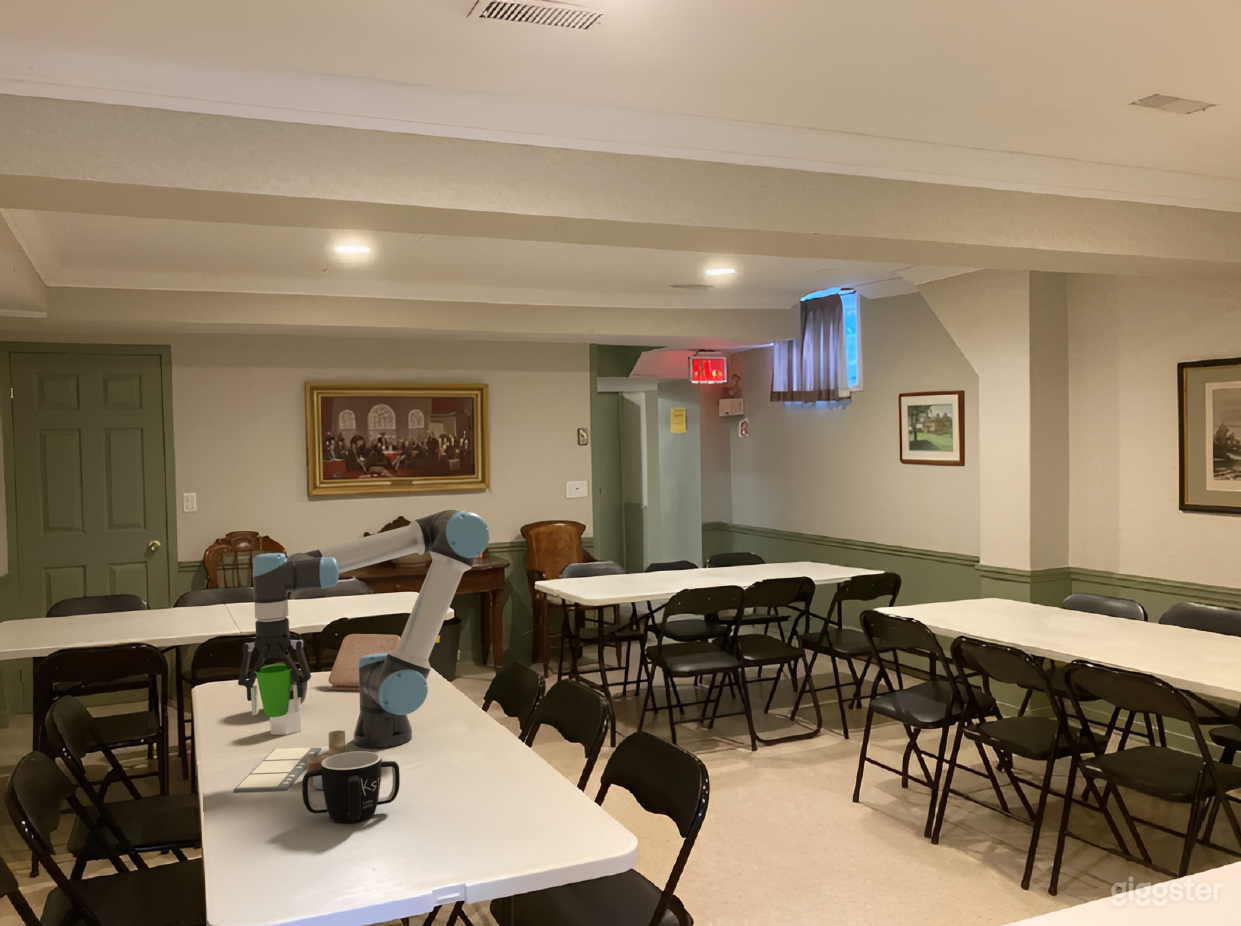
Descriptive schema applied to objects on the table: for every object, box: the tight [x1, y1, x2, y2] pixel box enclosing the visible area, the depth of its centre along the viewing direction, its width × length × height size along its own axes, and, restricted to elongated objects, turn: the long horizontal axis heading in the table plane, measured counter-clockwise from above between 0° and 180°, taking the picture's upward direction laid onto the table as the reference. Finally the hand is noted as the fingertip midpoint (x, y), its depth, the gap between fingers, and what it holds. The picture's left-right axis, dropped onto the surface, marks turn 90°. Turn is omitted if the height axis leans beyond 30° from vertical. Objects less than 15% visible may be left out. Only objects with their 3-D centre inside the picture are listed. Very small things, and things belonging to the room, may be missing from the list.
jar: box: [269, 685, 302, 736], centre depth 267 cm, size 9×8×12 cm
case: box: [328, 633, 401, 692], centre depth 322 cm, size 20×21×16 cm
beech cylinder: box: [328, 730, 346, 755], centre depth 243 cm, size 4×4×6 cm
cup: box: [254, 663, 292, 718], centre depth 230 cm, size 9×9×11 cm
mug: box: [301, 750, 401, 824], centre depth 202 cm, size 16×16×12 cm
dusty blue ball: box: [312, 776, 323, 790], centre depth 219 cm, size 4×4×4 cm
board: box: [233, 747, 322, 793], centre depth 234 cm, size 12×30×1 cm, turn 3°
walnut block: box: [306, 754, 329, 786], centre depth 225 cm, size 5×5×5 cm
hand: (276, 712), depth 230 cm, fingers closed on cup, 9 cm apart
